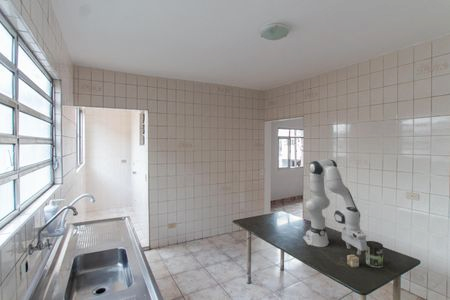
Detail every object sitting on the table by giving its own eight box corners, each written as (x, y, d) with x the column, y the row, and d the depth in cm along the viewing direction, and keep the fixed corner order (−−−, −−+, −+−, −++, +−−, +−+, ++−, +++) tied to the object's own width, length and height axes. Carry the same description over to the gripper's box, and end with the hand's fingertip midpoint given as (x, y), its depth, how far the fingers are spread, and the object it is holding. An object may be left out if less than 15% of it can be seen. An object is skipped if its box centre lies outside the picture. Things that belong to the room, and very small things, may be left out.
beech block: (347, 263, 166) (347, 255, 166) (353, 262, 167) (353, 254, 167) (352, 267, 161) (352, 258, 161) (358, 266, 162) (358, 257, 162)
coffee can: (386, 265, 162) (386, 245, 161) (376, 269, 158) (376, 248, 157) (372, 258, 171) (371, 239, 171) (362, 262, 167) (362, 242, 167)
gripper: (339, 226, 172) (339, 245, 173) (359, 237, 152) (360, 258, 152) (346, 226, 173) (347, 244, 174) (368, 236, 153) (369, 257, 154)
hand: (353, 251), depth 163 cm, fingers open, 8 cm apart
